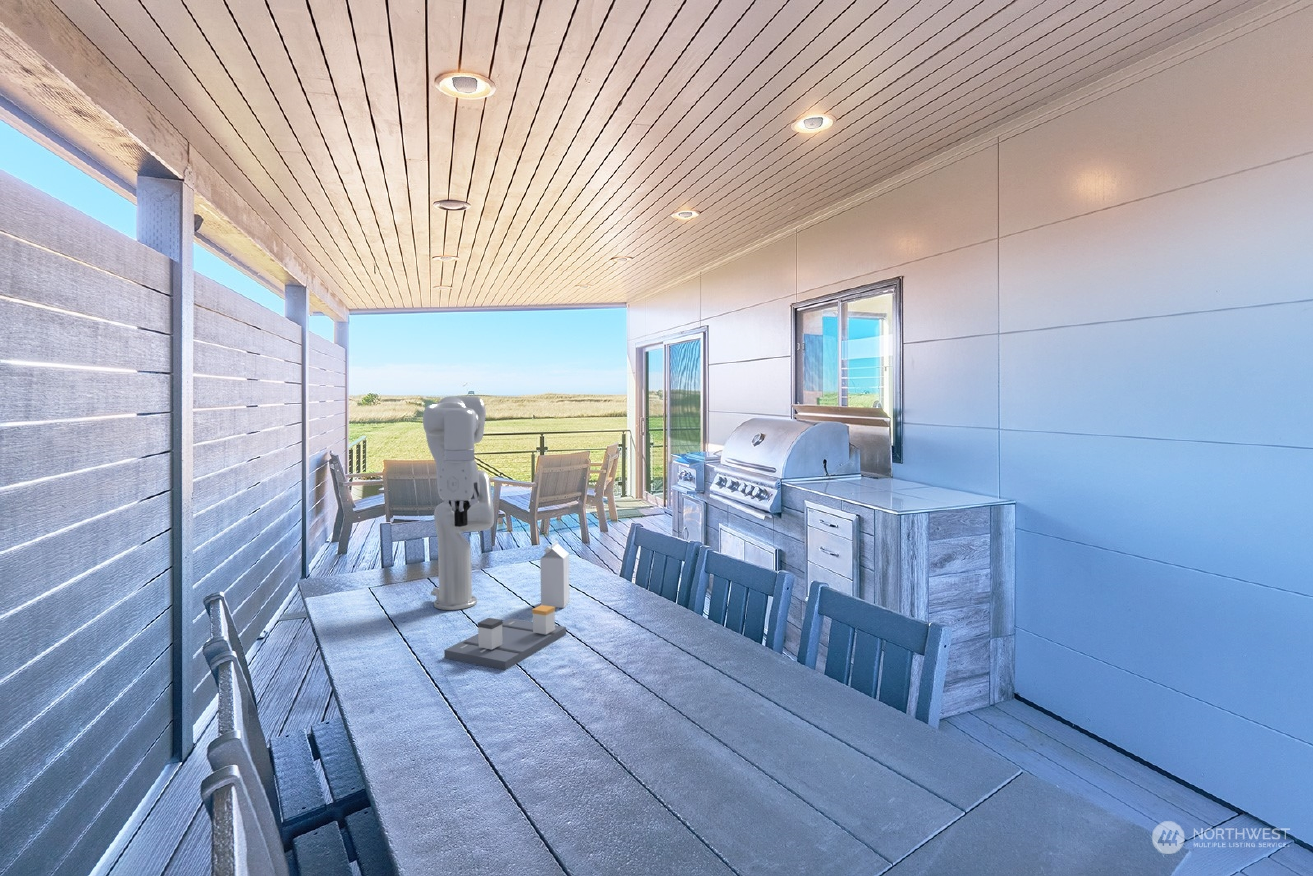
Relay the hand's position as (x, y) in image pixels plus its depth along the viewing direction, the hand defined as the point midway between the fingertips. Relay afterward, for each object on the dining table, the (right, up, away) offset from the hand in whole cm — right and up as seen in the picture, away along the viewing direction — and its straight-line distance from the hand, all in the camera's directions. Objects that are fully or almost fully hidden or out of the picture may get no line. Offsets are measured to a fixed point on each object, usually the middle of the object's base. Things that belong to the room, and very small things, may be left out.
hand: (461, 525), depth 179 cm
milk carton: (+21, -28, +27) cm, 44 cm away
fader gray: (+11, -28, -13) cm, 32 cm away
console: (+14, -30, -7) cm, 33 cm away
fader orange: (+22, -27, -3) cm, 35 cm away
